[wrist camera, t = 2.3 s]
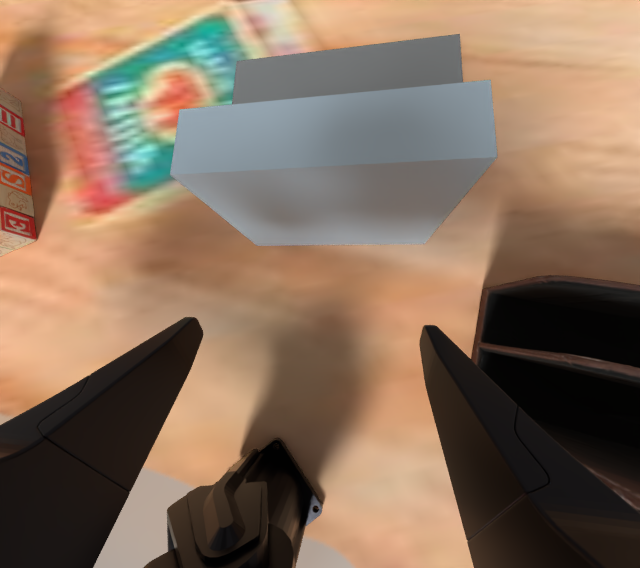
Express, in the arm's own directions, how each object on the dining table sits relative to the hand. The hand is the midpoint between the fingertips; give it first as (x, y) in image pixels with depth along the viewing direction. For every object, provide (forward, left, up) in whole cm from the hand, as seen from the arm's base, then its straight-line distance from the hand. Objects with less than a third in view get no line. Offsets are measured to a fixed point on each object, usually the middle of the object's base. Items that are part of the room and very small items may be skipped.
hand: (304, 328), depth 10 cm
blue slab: (+7, -6, -13) cm, 16 cm away
